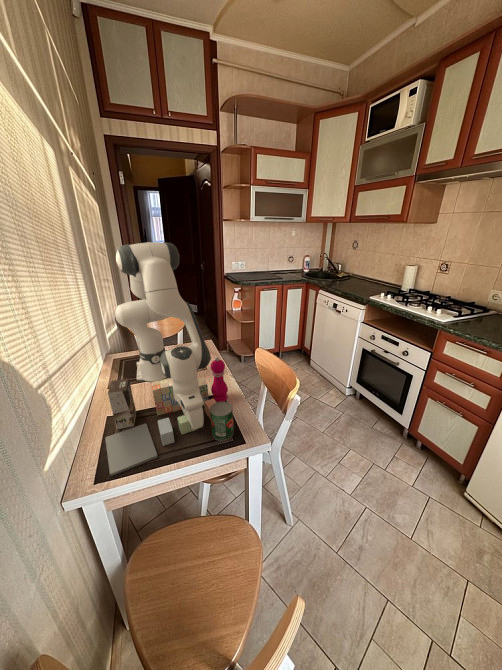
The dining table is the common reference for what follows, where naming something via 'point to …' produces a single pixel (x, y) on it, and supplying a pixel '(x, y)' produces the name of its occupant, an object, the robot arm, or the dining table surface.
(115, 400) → the coffee box
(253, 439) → the dining table surface
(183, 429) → the sage brick
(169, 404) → the stack of blocks
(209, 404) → the terracotta brick
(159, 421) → the slate brick
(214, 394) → the pepper mill
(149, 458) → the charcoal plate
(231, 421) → the canned tomato
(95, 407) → the dining table surface
